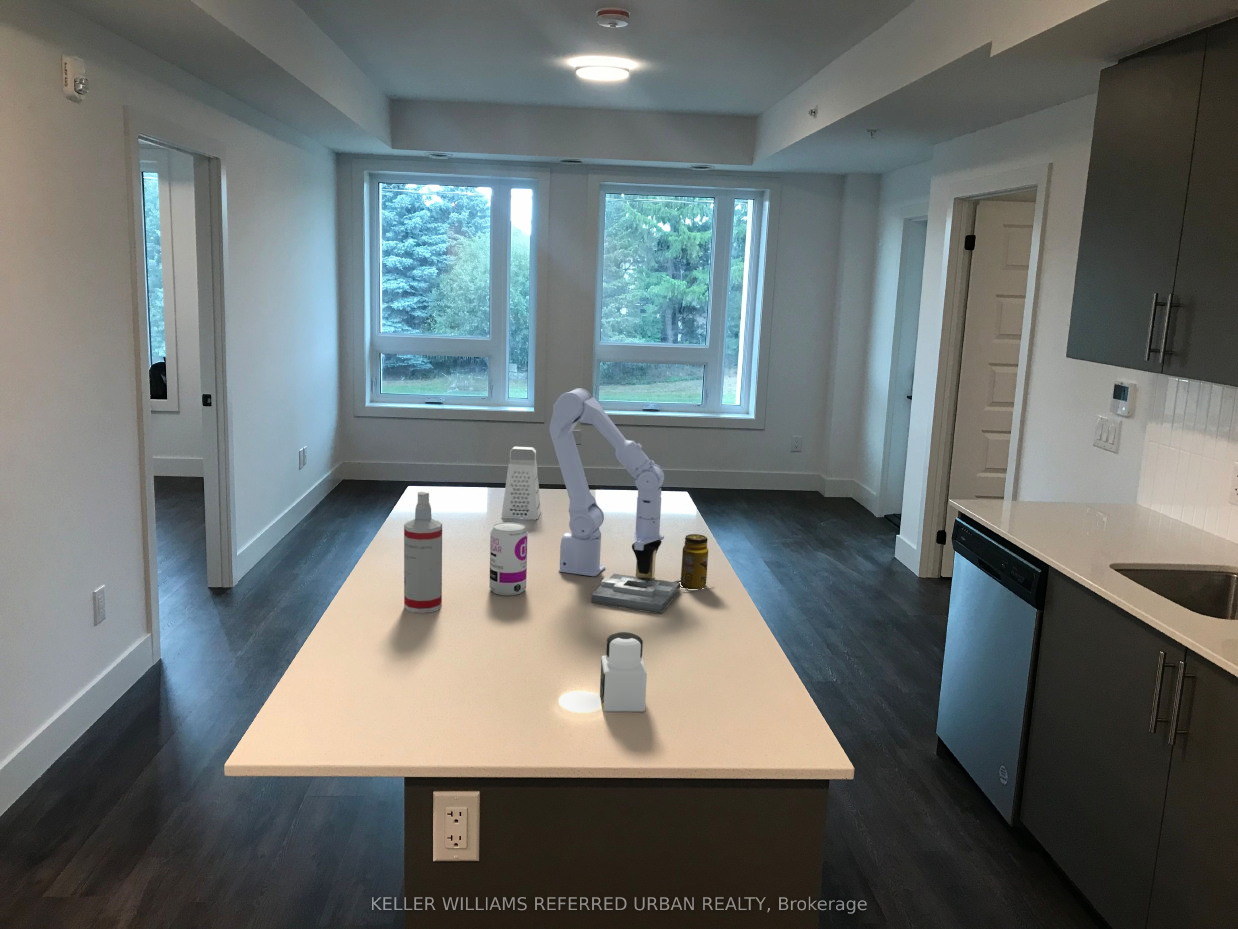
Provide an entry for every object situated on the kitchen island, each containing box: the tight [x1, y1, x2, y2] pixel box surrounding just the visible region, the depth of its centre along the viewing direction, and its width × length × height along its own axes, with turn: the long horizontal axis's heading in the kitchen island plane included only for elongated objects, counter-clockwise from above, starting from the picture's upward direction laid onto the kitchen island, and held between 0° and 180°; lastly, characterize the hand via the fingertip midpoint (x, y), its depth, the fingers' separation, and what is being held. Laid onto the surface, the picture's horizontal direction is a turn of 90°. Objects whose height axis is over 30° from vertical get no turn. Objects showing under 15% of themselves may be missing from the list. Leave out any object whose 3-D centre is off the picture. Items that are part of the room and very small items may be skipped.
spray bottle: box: [403, 491, 443, 614], centre depth 199 cm, size 8×8×25 cm
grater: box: [501, 446, 542, 520], centre depth 278 cm, size 10×10×20 cm
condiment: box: [673, 533, 714, 593], centre depth 222 cm, size 7×8×12 cm
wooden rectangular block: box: [635, 550, 657, 579], centre depth 227 cm, size 4×2×7 cm, turn 72°
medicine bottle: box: [599, 631, 648, 713], centre depth 160 cm, size 7×7×12 cm
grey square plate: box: [590, 573, 681, 615], centre depth 213 cm, size 16×16×2 cm
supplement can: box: [489, 521, 529, 597], centre depth 213 cm, size 8×8×15 cm
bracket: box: [600, 577, 673, 596], centre depth 213 cm, size 16×7×1 cm, turn 72°
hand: (645, 571), depth 227 cm, fingers open, 3 cm apart
